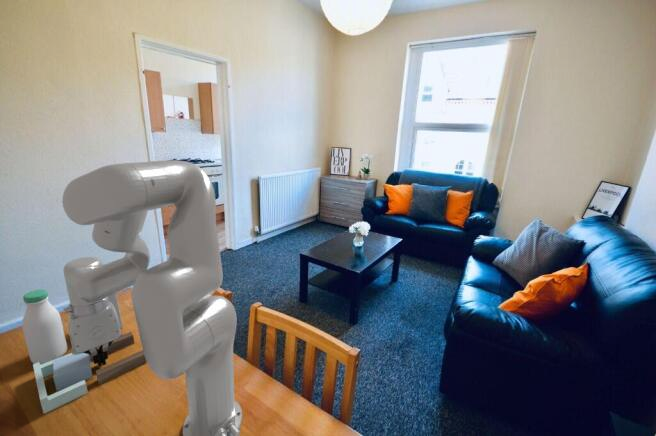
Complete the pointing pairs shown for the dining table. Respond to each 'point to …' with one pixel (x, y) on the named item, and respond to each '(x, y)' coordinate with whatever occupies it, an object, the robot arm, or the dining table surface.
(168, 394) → the dining table surface
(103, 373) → the brown parallel rails
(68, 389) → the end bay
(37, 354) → the milk bottle
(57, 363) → the block
